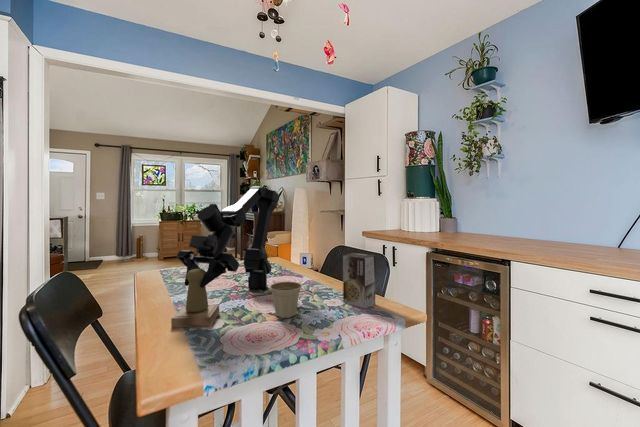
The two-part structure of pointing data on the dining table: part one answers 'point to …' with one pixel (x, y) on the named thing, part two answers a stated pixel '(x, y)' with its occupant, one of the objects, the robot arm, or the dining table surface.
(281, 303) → the flower pot
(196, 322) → the walnut plinth
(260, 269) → the robot arm
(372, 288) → the coffee box
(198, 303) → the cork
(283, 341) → the dining table surface
